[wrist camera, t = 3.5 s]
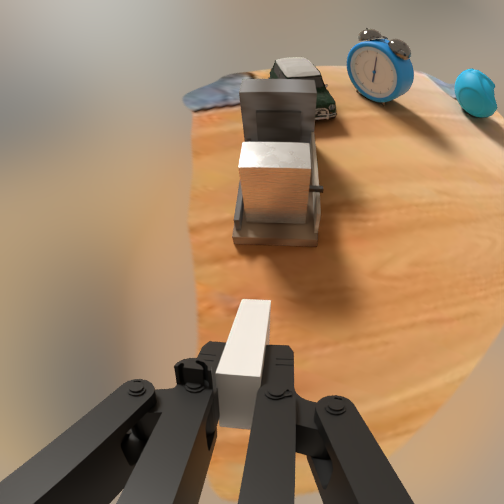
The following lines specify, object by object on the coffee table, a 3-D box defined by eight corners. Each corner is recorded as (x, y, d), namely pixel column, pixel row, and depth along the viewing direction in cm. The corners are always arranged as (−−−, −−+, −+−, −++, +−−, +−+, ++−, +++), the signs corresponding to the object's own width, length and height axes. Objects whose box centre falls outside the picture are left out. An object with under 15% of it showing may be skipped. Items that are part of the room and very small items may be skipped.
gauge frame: (311, 141, 46) (315, 80, 37) (317, 246, 36) (330, 179, 26) (248, 140, 47) (242, 79, 38) (233, 243, 37) (219, 176, 27)
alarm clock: (342, 87, 56) (348, 25, 43) (358, 80, 58) (365, 23, 45) (393, 114, 50) (408, 49, 37) (407, 106, 52) (422, 45, 39)
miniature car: (290, 131, 49) (290, 91, 42) (266, 85, 58) (264, 52, 51) (338, 125, 49) (343, 87, 42) (306, 81, 58) (307, 49, 51)
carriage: (318, 199, 38) (326, 144, 30) (320, 224, 36) (329, 169, 28) (249, 196, 39) (242, 142, 31) (246, 221, 37) (238, 167, 29)
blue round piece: (493, 133, 48) (510, 94, 38) (453, 115, 51) (467, 73, 41) (483, 108, 54) (496, 73, 44) (446, 93, 56) (457, 55, 46)
